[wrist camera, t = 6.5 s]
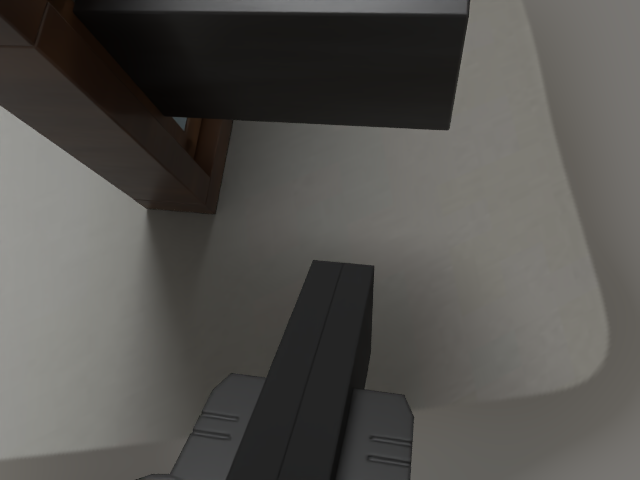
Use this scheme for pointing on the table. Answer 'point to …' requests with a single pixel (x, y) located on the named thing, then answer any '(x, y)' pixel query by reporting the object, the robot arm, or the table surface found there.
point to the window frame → (101, 114)
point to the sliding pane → (280, 59)
